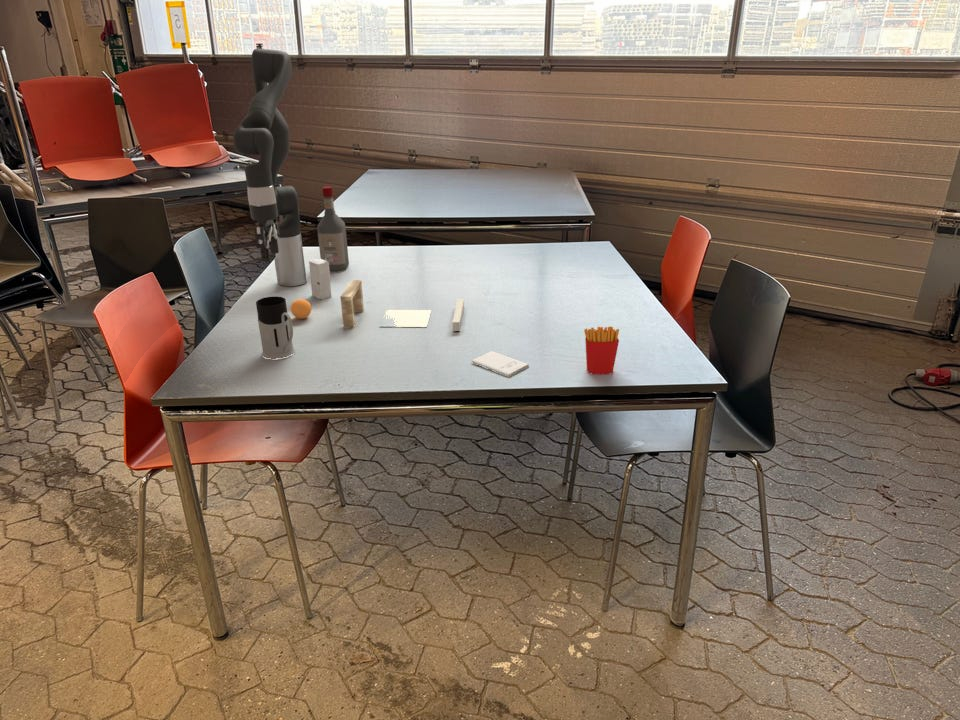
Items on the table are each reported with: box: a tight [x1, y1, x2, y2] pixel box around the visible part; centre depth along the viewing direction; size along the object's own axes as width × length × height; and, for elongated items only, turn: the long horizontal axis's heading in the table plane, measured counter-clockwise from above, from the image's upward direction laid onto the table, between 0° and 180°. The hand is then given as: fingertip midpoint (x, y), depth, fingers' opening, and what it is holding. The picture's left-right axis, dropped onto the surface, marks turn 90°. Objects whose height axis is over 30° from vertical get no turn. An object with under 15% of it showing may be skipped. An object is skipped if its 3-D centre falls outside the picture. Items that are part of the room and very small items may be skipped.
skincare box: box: [308, 257, 332, 300], centre depth 219 cm, size 6×4×12 cm
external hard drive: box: [471, 350, 530, 378], centre depth 172 cm, size 2×8×12 cm
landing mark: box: [383, 309, 433, 328], centre depth 202 cm, size 14×14×1 cm
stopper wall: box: [452, 298, 465, 332], centre depth 200 cm, size 2×20×3 cm, turn 177°
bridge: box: [339, 279, 365, 328], centre depth 200 cm, size 3×15×10 cm, turn 178°
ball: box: [290, 298, 312, 320], centre depth 202 cm, size 6×6×6 cm
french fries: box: [584, 326, 620, 375], centre depth 165 cm, size 8×4×12 cm, turn 90°
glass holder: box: [255, 295, 296, 359], centre depth 174 cm, size 9×14×15 cm, turn 43°
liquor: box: [316, 185, 350, 273], centre depth 243 cm, size 9×9×30 cm
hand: (270, 257), depth 196 cm, fingers open, 8 cm apart
